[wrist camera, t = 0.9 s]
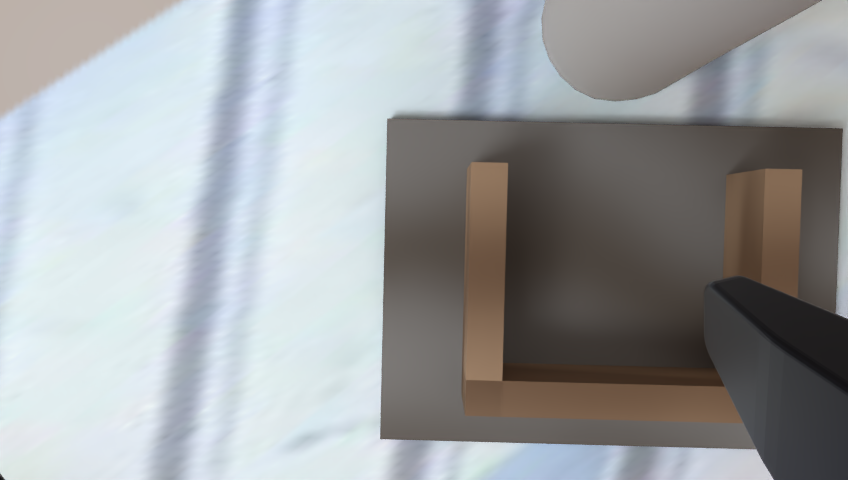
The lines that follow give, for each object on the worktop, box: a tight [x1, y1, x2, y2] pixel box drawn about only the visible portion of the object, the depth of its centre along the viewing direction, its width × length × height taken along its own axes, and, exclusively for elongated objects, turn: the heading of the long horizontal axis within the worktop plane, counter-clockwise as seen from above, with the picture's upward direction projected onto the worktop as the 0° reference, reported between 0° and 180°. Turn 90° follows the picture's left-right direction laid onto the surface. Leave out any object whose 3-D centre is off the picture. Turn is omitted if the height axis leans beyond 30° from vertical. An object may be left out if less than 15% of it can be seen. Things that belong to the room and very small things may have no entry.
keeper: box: [380, 119, 843, 449], centre depth 20 cm, size 10×14×3 cm
